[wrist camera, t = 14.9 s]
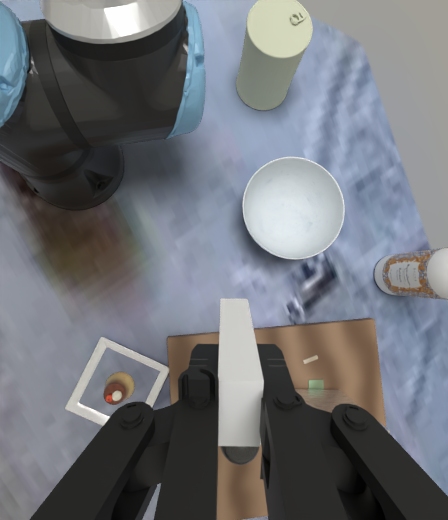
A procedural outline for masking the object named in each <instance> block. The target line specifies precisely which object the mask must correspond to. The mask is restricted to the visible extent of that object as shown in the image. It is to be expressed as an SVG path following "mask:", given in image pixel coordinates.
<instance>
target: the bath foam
mask: <svg viewBox="0 0 448 520" xmlns="http://www.w3.org/2000/svg"><path fill="white" fill-rule="evenodd" d="M374 275H375V281H376V283H377V285H378V286H379V288H380V289H381V290H382V291H384V292H385V293H387V294H391V295H400V296H411V297H423V298H435V299H448V248H441V249H433V250H425V251H417V252H410V253H402V254H395V255H389V256H386V257H384V258H382V259H381V260H380V261H379V262H378V264H377V265H376V268H375V273H374Z"/></svg>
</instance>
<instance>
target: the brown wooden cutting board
mask: <svg viewBox="0 0 448 520" xmlns="http://www.w3.org/2000/svg"><path fill="white" fill-rule="evenodd" d="M254 334H255V339H256V344H276V345H277V346H278V347H279V348H280V349H281V350H282V353H283V355H284V358H285V361H286V364H287V367H288V370H289V373H290V376H291V379H292V382H293V385H294V388H295V389H323V390H341V391H342V392H343V393H344V394H345V395H347V396H348V397H349V398H350V399H352V400H353V401H354V402H355V403H357V404H358V405H359V406H360V407H361V408H363V409H365V410H367V411H368V412H369V413H370V414H371V415H373V416H374V417H375V419H376V420H378V421H379V422H380V423H381V424H382V425H384V426H385V427H386V419H385V410H384V401H383V392H382V383H381V374H380V365H379V356H378V347H377V338H376V329H375V320H374V319H371V318H364V319H353V320H342V321H331V322H320V323H309V324H298V325H287V326H276V327H265V328H254ZM197 344H219V332H211V333H200V334H189V335H178V336H168V338H167V347H168V363H169V379H170V396H171V405H172V404H174V403H175V402H177V401H178V400H179V397H178V378H179V376H180V374H181V373H182V372H184V371H185V370H187V369H188V367H189V362H190V357H191V351H192V349H193V348H194V347H195V346H196V345H197ZM261 457H262V447H261V445H260V447H259V451H258V453H257V455H256V457H255V458H254V459H253V460H252V461H251V462H250V463H248V464H245V465H236V464H233V463H231V462H230V461H228V460H227V459H226V457H225V456H224V455H223V453H222V451H221V448H220V446H218V486H217V520H241V519H248V518H255V517H261V516H268V512H267V504H266V496H265V488H264V481H263V479H260V472H261Z"/></svg>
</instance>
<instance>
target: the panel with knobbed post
mask: <svg viewBox="0 0 448 520" xmlns="http://www.w3.org/2000/svg"><path fill="white" fill-rule="evenodd" d="M295 391H296V392H297V393H299V394H300V395H301V396H302V397H303V399H304V401H305V402H306V404H308V405H310V406H312V407H314V408H317V409H320V410H324V411H327V412H331V413H332V410H333V409H334V407H335V406H337V405H339V404H347V403H349V404H353V405H357V406H359V405H358V404H357V403H355V402H354V401H353V400H352V399H350V398H349V397H348V396H347V395H345V394H344V393H343V392H342V391H341V390H323V389H295ZM359 407H360V406H359ZM377 421H378V420H377ZM378 422H379V421H378ZM379 423H380V422H379ZM380 424H381V423H380ZM381 425H382V424H381ZM382 426H383V427H384V428H385V429H386V430H387V431H388V433H389V434H390V430H389V429H387V428H386V427H385V426H384V425H382ZM260 445H261V439H260ZM220 448H221V451H222V453H223V455H224V456H225V457H226V459H227V460H228V461H230V462H231V463H233V464H236V465H245V464H248V463H250V462H251V461H252V460H253V459H254V458H255V457H256V455H257V453H258V451H259V447H253V446H220Z"/></svg>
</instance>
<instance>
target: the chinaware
mask: <svg viewBox="0 0 448 520" xmlns="http://www.w3.org/2000/svg"><path fill="white" fill-rule="evenodd" d="M242 211H243V218H244V222H245V225H246V228H247V230H248V232H249V234H250V235H251V237H252V238H253V240H254V241H255V242H256V243H257V244H258V245H259V246H260V247H261V248H263V249H264V250H265V251H267V252H269V253H270V254H272V255H275V256H277V257H280V258H284V259H292V260H298V259H306V258H310V257H313V256H315V255H317V254H319V253H321V252H323V251H324V250H325V249H327V248H328V247H329V246H330V245H331V244H332V243H333V242H334V240H335V239H336V238H337V236H338V234H339V232H340V230H341V228H342V225H343V221H344V214H345V207H344V199H343V195H342V192H341V190H340V188H339V186H338V184H337V182H336V180H335V179H334V178H333V176H332V175H331V174H330V173H329V172H328V171H327V170H326V169H324V168H323V167H322V166H320V165H319V164H317V163H315V162H313V161H311V160H308V159H305V158H300V157H284V158H279V159H276V160H273V161H271V162H269V163H267V164H265V165H264V166H262V167H261V168H260V169H259V170H257V172H256V173H255V174H254V175H253V176H252V178H251V179H250V181H249V182H248V184H247V186H246V189H245V192H244V196H243V203H242Z"/></svg>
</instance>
